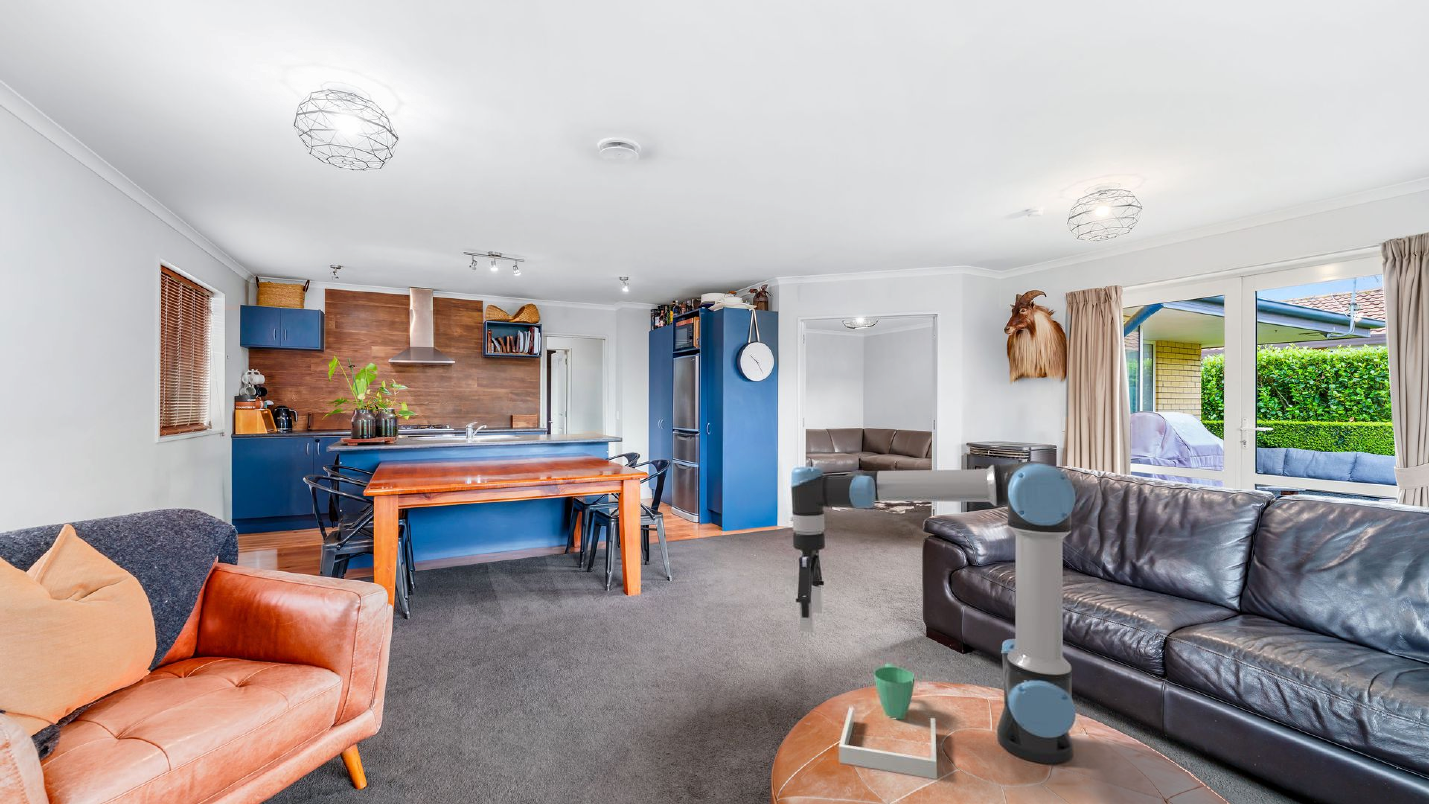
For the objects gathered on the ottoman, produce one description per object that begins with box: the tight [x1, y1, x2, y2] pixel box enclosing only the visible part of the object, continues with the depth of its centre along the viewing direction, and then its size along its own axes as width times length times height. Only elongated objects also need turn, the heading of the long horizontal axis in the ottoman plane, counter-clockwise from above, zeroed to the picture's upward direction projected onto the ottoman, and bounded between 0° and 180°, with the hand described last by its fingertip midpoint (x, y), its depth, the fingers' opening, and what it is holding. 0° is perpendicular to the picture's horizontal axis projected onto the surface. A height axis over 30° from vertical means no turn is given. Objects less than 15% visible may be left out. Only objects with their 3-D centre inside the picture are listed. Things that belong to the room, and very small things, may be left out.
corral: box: [838, 706, 938, 780], centre depth 135 cm, size 20×19×4 cm
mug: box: [873, 662, 915, 720], centre depth 152 cm, size 15×10×10 cm
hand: (811, 621), depth 141 cm, fingers open, 13 cm apart
